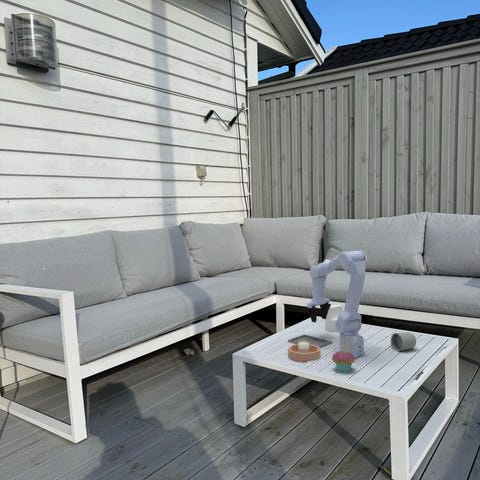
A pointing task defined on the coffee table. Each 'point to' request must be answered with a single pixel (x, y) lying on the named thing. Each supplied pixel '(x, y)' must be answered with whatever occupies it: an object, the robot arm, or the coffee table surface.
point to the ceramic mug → (403, 341)
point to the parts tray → (310, 340)
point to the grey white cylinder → (332, 318)
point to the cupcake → (343, 360)
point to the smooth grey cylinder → (303, 347)
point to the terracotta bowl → (303, 357)
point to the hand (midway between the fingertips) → (319, 320)
